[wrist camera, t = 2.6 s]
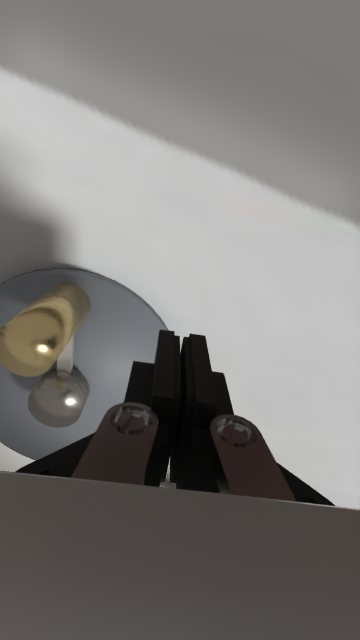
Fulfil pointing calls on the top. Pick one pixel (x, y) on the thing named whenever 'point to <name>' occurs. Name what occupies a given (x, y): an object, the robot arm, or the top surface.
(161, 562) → the robot arm
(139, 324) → the dial plate
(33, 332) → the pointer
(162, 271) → the top surface
